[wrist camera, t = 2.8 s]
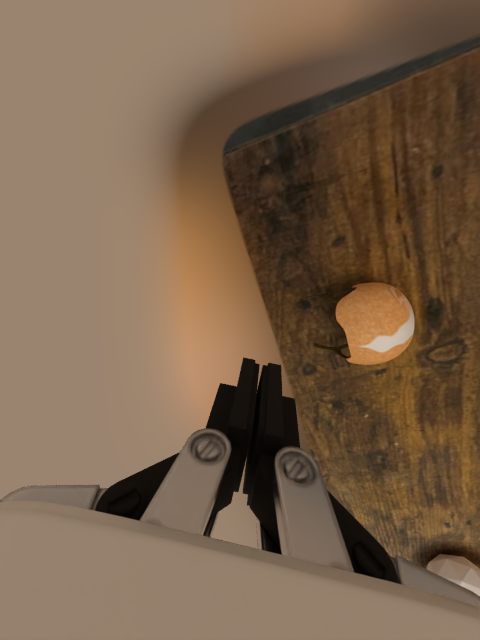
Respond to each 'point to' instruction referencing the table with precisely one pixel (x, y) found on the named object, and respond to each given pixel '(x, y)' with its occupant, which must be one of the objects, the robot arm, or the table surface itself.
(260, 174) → the table surface
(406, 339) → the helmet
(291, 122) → the table surface
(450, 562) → the perfume bottle
